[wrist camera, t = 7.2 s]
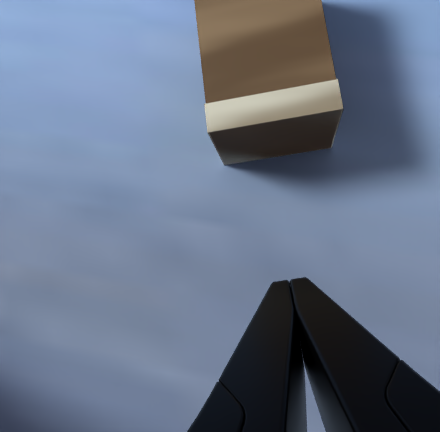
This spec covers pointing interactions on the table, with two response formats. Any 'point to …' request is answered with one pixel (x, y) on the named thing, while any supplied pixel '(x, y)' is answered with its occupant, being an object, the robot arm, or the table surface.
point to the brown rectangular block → (267, 78)
